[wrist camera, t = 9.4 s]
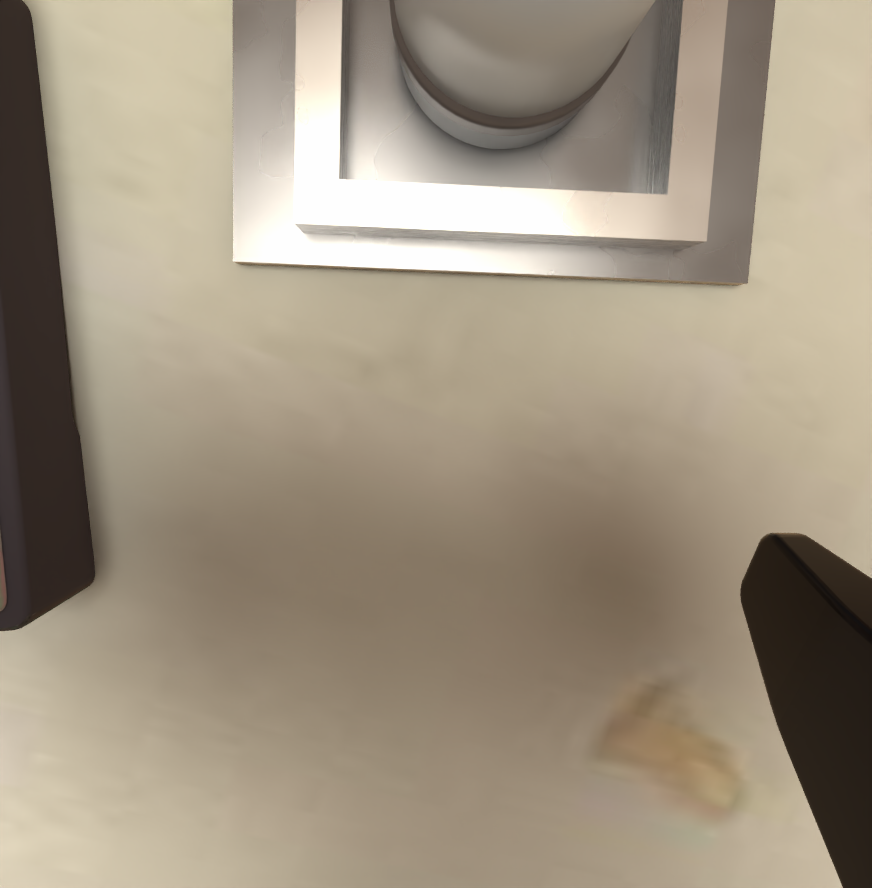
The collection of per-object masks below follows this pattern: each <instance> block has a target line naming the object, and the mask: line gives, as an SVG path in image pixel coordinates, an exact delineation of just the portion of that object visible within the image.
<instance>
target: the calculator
mask: <svg viewBox="0 0 872 888" xmlns="http://www.w3.org/2000/svg"><path fill="white" fill-rule="evenodd" d="M94 577H95V566H94V556H93V548H92V539H91V530H90V521H89V513H88V504H87V495H86V486H85V478H84V469H83V460H82V451H81V443H80V436H79V434H78V431H77V429H76V426H75V424H74V421H73V415H72V405H71V394H70V383H69V371H68V360H67V349H66V338H65V327H64V316H63V305H62V294H61V283H60V272H59V261H58V249H57V238H56V228H55V218H54V209H53V200H52V191H51V182H50V173H49V164H48V155H47V146H46V137H45V128H44V119H43V110H42V102H41V93H40V84H39V75H38V66H37V58H36V49H35V40H34V32H33V23H32V17H31V13H30V11H29V9H28V7H27V6H26V4H25V3H24V2H23V1H22V0H0V631H8V630H16V629H19V628H22V627H24V626H26V625H27V624H29V623H31V622H32V621H34V620H35V619H37V618H39V617H40V616H42V615H43V614H45V613H47V612H48V611H50V610H52V609H53V608H55V607H56V606H58V605H60V604H61V603H63V602H64V601H66V600H68V599H69V598H71V597H72V596H74V595H76V594H77V593H79V592H80V591H82V590H83V589H85V588H87V587H88V586H89V585H90V584H91V583H92V582H93V580H94Z"/></svg>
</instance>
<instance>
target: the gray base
mask: <svg viewBox="0 0 872 888" xmlns="http://www.w3.org/2000/svg"><path fill="white" fill-rule="evenodd" d="M774 8H775V0H655V2H654V3H653V5H652V6H651V8H650V9H649V11H648V12H647V14H646V15H645V17H644V18H643V19H642V21H641V22H640V24H639V25H638V27H637V28H636V30H635V31H634V33H633V34H632V37H631V39H630V41H629V44H628V46H627V48H626V50H625V52H624V54H623V56H622V57H621V59H620V61H619V62H618V64H617V66H616V67H615V69H614V70H613V72H612V73H611V74H610V76H609V77H608V79H607V80H606V82H605V83H604V84H603V86H602V87H601V88H600V89H599V91H598V92H597V93H596V95H595V96H594V97H593V98H592V99H591V100H590V101H589V102H588V103H587V104H586V105H585V106H584V107H583V108H582V109H580V111H579V112H578V113H577V114H576V115H575V116H574V117H573V118H572V119H571V120H570V121H569V122H568V123H567V124H566V125H565V126H564V127H562V128H561V129H560V130H558V131H557V132H556V133H554V134H552V135H551V136H549V137H547V138H545V139H544V140H541V141H539V142H536V143H534V144H531V145H527V146H523V147H520V148H512V149H489V148H483V147H478V146H474V145H471V144H468V143H465V142H463V141H461V140H459V139H456V138H454V137H453V136H451V135H450V134H448V133H446V132H445V131H443V130H442V129H441V128H440V127H438V126H437V125H436V124H435V123H434V122H432V121H431V119H430V118H429V117H428V116H427V115H426V114H425V113H424V112H423V111H422V109H421V108H420V106H419V105H418V103H417V102H416V101H415V99H414V97H413V95H412V93H411V92H410V90H409V88H408V85H407V83H406V80H405V77H404V75H403V71H402V67H401V63H400V58H399V54H398V52H397V49H396V45H395V41H394V36H393V31H392V22H391V13H390V3H389V0H233V262H235V263H238V264H246V265H270V266H293V267H317V268H340V269H364V270H387V271H411V272H434V273H458V274H481V275H505V276H528V277H552V278H575V279H599V280H622V281H646V282H669V283H693V284H716V285H742V284H747V283H748V274H749V264H750V254H751V243H752V233H753V223H754V213H755V202H756V192H757V182H758V172H759V162H760V151H761V141H762V131H763V121H764V110H765V100H766V90H767V80H768V69H769V59H770V49H771V39H772V29H773V18H774Z"/></svg>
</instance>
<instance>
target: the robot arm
mask: <svg viewBox="0 0 872 888" xmlns="http://www.w3.org/2000/svg"><path fill="white" fill-rule="evenodd" d="M740 596H741V603H742V607H743V611H744V614H745V617H746V621H747V624H748V628H749V631H750V635H751V638H752V642H753V645H754V649H755V652H756V655H757V659H758V662H759V666H760V669H761V673H762V676H763V680H764V683H765V687H766V690H767V693H768V697H769V700H770V704H771V707H772V710H773V713H774V716H775V719H776V722H777V725H778V728H779V731H780V733H781V736H782V739H783V741H784V744H785V746H786V749H787V751H788V754H789V756H790V759H791V761H792V764H793V766H794V769H795V771H796V773H797V776H798V778H799V781H800V783H801V786H802V788H803V791H804V793H805V796H806V798H807V800H808V803H809V805H810V808H811V810H812V813H813V815H814V818H815V820H816V822H817V825H818V827H819V830H820V832H821V835H822V837H823V840H824V842H825V845H826V847H827V849H828V852H829V854H830V857H831V859H832V862H833V864H834V867H835V869H836V872H837V874H838V876H839V879H840V881H841V884H842V886H843V888H872V578H870V577H869V576H867V575H866V574H864V573H862V572H861V571H859V570H858V569H856V568H855V567H853V566H852V565H850V564H849V563H847V562H846V561H844V560H843V559H841V558H840V557H838V556H837V555H835V554H834V553H832V552H831V551H829V550H827V549H826V548H824V547H823V546H821V545H820V544H818V543H817V542H815V541H814V540H812V539H811V538H809V537H807V536H806V535H803V534H798V533H770V534H767V535H765V536H764V537H763V538H762V539H761V541H760V542H759V544H758V547H757V549H756V551H755V553H754V556H753V558H752V560H751V563H750V565H749V567H748V569H747V572H746V574H745V576H744V579H743V581H742V584H741V593H740Z"/></svg>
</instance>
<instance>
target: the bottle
mask: <svg viewBox="0 0 872 888" xmlns="http://www.w3.org/2000/svg"><path fill="white" fill-rule="evenodd" d="M654 2H655V0H389V3H390V13H391V22H392V31H393V36H394V41H395V45H396V49H397V52H398V54H399V58H400V63H401V67H402V71H403V75H404V77H405V80H406V83H407V85H408V88H409V90H410V92H411V93H412V95H413V97H414V99H415V101H416V102H417V103H418V105H419V106H420V108H421V109H422V111H423V112H424V113H425V114H426V115H427V116H428V117H429V118H430V119H431V121H432V122H434V123H435V124H436V125H437V126H438V127H440V128H441V129H442V130H443V131H445V132H446V133H448V134H450V135H451V136H453V137H454V138H456V139H459V140H461V141H463V142H465V143H468V144H471V145H474V146H478V147H483V148H489V149H512V148H520V147H523V146H527V145H531V144H534V143H536V142H539V141H541V140H544V139H545V138H547V137H549V136H551V135H552V134H554V133H556V132H557V131H558V130H560V129H561V128H562V127H564V126H565V125H566V124H567V123H568V122H569V121H570V120H571V119H572V118H573V117H574V116H575V115H576V114H577V113H578V112H579V111H580V109H582V108H583V107H584V106H585V105H586V104H587V103H588V102H589V101H590V100H591V99H592V98H593V97H594V96H595V95H596V93H597V92H598V91H599V89H600V88H601V87H602V86H603V84H604V83H605V82H606V80H607V79H608V77H609V76H610V74H611V73H612V72H613V70H614V69H615V67H616V66H617V64H618V62H619V61H620V59H621V57H622V56H623V54H624V52H625V50H626V48H627V46H628V44H629V41H630V39H631V37H632V34H633V33H634V31H635V30H636V28H637V27H638V25H639V24H640V22H641V21H642V19H643V18H644V17H645V15H646V14H647V12H648V11H649V9H650V8H651V6H652V5H653V3H654Z"/></svg>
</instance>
